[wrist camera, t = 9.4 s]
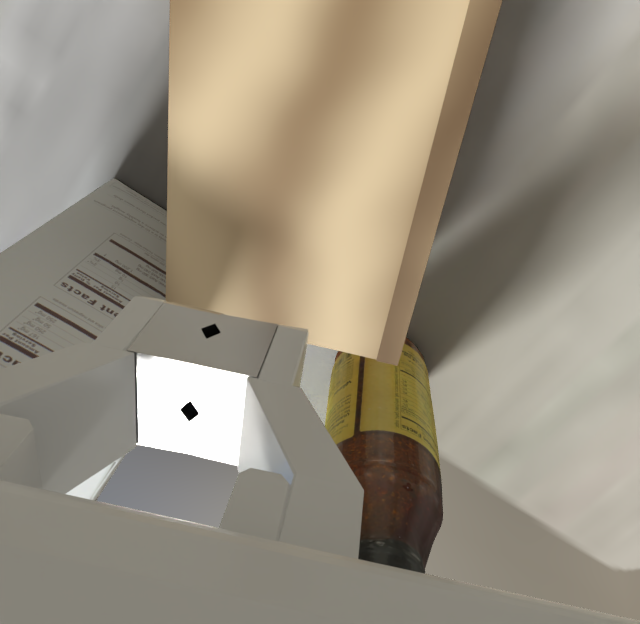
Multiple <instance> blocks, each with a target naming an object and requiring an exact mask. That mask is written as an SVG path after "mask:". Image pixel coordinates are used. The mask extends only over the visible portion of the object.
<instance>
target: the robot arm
mask: <svg viewBox="0 0 640 624" xmlns="http://www.w3.org/2000/svg"><path fill="white" fill-rule="evenodd" d="M308 335H309V332H308V329H304V328H298V327H292V326H286V325H278V324H274V323H268V322H263V321H257V320H252V319H246V318H240V317H235V316H229V315H224V314H223V313H219V312H214V311H210V310H206V309H201V308H197V307H192V306H188V305H184V304H179V303H175V302H170V301H168V302H167V301H166V300H162V299H157V298H152V297H146V296H141V295H140V296H135V297H134V298H133V299H132V300H131V301H130V302H129V303H128V304H127V305H126V306H125V307H124V308H123V310H122V311H121V312H120V313H119V314H118V315H117V316H116V317H115V318H114V320H113V321H112V322H111V323H110V324H109V325H108V326H107V327H106V328H105V329H104V331H103V332H102V333H101V334H100V335H99V336H98V337H97V338H96V339H95V340H94V342H93V343H92V344H90V343H85V342H81V343H78V344H75V345H72V346H69V347H66V348H63V349H60V350H57V351H54V352H51V353H48V354H45V355H42V356H39V357H36V358H33V359H30V360H27V361H24V362H21V363H18V364H15V365H12V366H9V367H6V368H3V369H0V624H640V621H638V620H633V619H629V618H625V617H620V616H616V615H611V614H607V613H602V612H598V611H593V610H589V609H584V608H579V607H575V606H570V605H566V604H561V603H557V602H552V601H548V600H543V599H538V598H534V597H530V596H525V595H520V594H516V593H512V592H507V591H503V590H498V589H493V588H489V587H484V586H480V585H475V584H471V583H466V582H461V581H457V580H452V579H447V578H443V577H438V576H434V575H429V574H425V573H420V572H415V571H411V570H406V569H401V568H397V567H392V566H388V565H383V564H378V563H374V562H369V561H365V560H360V559H358V555H359V544H360V532H361V520H362V509H363V497H364V489H363V488H362V486H361V485H360V483H359V481H358V480H357V478H356V476H355V475H354V473H353V472H352V470H351V468H350V467H349V465H348V463H347V462H346V460H345V458H344V457H343V455H342V454H341V452H340V450H339V449H338V447H337V445H336V444H335V442H334V441H333V439H332V437H331V436H330V434H329V432H328V431H327V429H326V428H325V426H324V424H323V423H322V421H321V419H320V418H319V416H318V414H317V413H316V411H315V410H314V408H313V406H312V405H311V403H310V401H309V400H308V398H307V397H306V395H305V393H304V392H303V390H302V388H300V382H301V377H302V371H303V365H304V360H305V354H306V348H307V342H308ZM136 444H139V445H144V446H149V447H155V448H160V449H165V450H171V451H176V452H182V453H187V454H191V455H196V456H200V457H203V458H208V459H212V460H216V461H220V462H224V463H228V464H232V465H237V466H238V471H239V475H238V478H237V481H236V483H235V486H234V489H233V491H232V494H231V496H230V499H229V502H228V505H227V508H226V510H225V513H224V515H223V518H222V521H221V523H220V526H219V528H217V527H212V526H208V525H203V524H199V523H194V522H190V521H185V520H180V519H176V518H171V517H167V516H163V515H158V514H154V513H149V512H144V511H140V510H136V509H131V508H126V507H122V506H117V505H113V504H108V503H104V502H99V501H95V500H90V499H85V498H81V497H76V496H72V495H67V494H66V493H67V492H69V491H70V490H72V489H73V488H75V487H76V486H78V485H80V484H81V483H83V482H84V481H86V480H87V479H89V478H90V477H92V476H93V475H95V474H96V473H98V472H99V471H101V470H102V469H104V468H105V467H107V466H108V465H110V464H111V463H113V462H114V461H116V460H117V459H119V458H121V457H122V456H124V455H125V454H126V453H128V452H130V451H131V450H133V449H134V448H136V446H137V445H136Z"/></svg>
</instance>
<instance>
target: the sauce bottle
mask: <svg viewBox="0 0 640 624" xmlns="http://www.w3.org/2000/svg"><path fill="white" fill-rule="evenodd" d="M325 428H326V429H327V431H328V432H329V434H330V436H331V437H332V439H333V441H334V442H335V444H336V445H337V447H338V449H339V450H340V452H341V454H342V455H343V457H344V458H345V460H346V462H347V463H348V465H349V467H350V468H351V470H352V472H353V473H354V475H355V476H356V478H357V480H358V481H359V483H360V485H361V486H362V488H363V489H364V497H363V509H362V520H361V532H360V544H359V555H358V559H360V560H365V561H369V562H374V563H378V564H383V565H388V566H392V567H397V568H401V569H406V570H411V571H415V572H420V573H425V567H426V563H427V560H428V557H429V554H430V550H431V547H432V544H433V542H434V540H435V537H436V535H437V533H438V531H439V529H440V527H441V524H442V520H443V506H442V484H441V474H440V464H439V454H438V445H437V437H436V429H435V421H434V414H433V407H432V401H431V394H430V386H429V378H428V372H427V368H426V365H425V363H424V358H423V356H422V354H421V353H420V351H419V350H418V348H417V347H416V346H415V345H414V344H413V343H412V342H411V341H410V340H409V339H408V338H405V342H404V345H403V349H402V352H401V356H400V359H399V363H398V366H396V365H391V364H387V363H383V362H379V361H376V359H371V358H367V357H363V356H359V355H354V354H350V353H346V352H342V351H338V353H337V355H336V358H335V364H334V366H333V369H332V374H331V381H330V389H329V396H328V405H327V413H326V421H325Z"/></svg>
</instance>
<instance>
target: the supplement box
mask: <svg viewBox="0 0 640 624" xmlns="http://www.w3.org/2000/svg"><path fill="white" fill-rule="evenodd" d="M166 240H167V211H166V210H164V209H163V208H161V207H159V206H158V205H156V204H155V203H153V202H151V201H150V200H148V199H147V198H145V197H143V196H142V195H140V194H139V193H137V192H135V191H134V190H132V189H131V188H129V187H127V186H126V185H124V184H123V183H121V182H120V181H118V180H116V179H111V180H110V181H108V182H107V183H105V184H104V185H102V186H101V187H99V188H98V189H96V190H95V191H93V192H92V193H90V194H89V195H87V196H86V197H84V198H83V199H81V200H80V201H78V202H77V203H75V204H74V205H72V206H71V207H69V208H68V209H66V210H65V211H63V212H62V213H60V214H59V215H57V216H56V217H54V218H53V219H51V220H50V221H48V222H47V223H45V224H44V225H42V226H41V227H39V228H38V229H36V230H35V231H33V232H32V233H30V234H29V235H27V236H26V237H24V238H23V239H21V240H20V241H18V242H17V243H15V244H13V245H12V246H10V247H9V248H7V249H6V250H4V251H3V252H1V253H0V369H3V368H6V367H9V366H12V365H15V364H18V363H21V362H24V361H27V360H30V359H33V358H36V357H39V356H42V355H45V354H48V353H51V352H54V351H57V350H60V349H63V348H66V347H69V346H72V345H75V344H78V343H81V342H85V343H90V344H92V343H93V342H94V340H95V339H96V338H97V337H98V336H99V335H100V334H101V333H102V332H103V331H104V329H105V328H106V327H107V326H108V325H109V324H110V323H111V322H112V321H113V320H114V318H115V317H116V316H117V315H118V314H119V313H120V312H121V311H122V310H123V308H124V307H125V306H126V305H127V304H128V303H129V302H130V301H131V300H132V299H133V298H134V297H135V296H140V295H141V296H146V297H152V298H157V299H162V300H166ZM125 455H126V454H125ZM125 455H124V456H125ZM124 456H122V457H121V458H119V459H117V460H116V461H114V462H113V463H111V464H110V465H108V466H107V467H105V468H104V469H102V470H101V471H99V472H98V473H96V474H95V475H93V476H92V477H90V478H89V479H87V480H86V481H84V482H83V483H81V484H80V485H78V486H76V487H75V488H73V489H72V490H70V491H69V492H67V493H66V494H67V495H72V496H76V497H81V498H85V499H90V500H95V501H96V500H97V498H98V497H99V495H100V494H101V492H102V490H103V489H104V487H105V486H106V484H107V483H108V481H109V480H110V478H111V477H112V475H113V474H114V472H115V471H116V469H117V467H118V466H119V464H120V463H121V461H122V460H123V458H124Z"/></svg>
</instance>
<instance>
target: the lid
mask: <svg viewBox="0 0 640 624" xmlns="http://www.w3.org/2000/svg"><path fill="white" fill-rule="evenodd" d="M501 4H502V0H170V32H169V102H168V171H167V240H166V301H167V302H168V301H170V302H175V303H179V304H184V305H188V306H192V307H197V308H201V309H206V310H210V311H214V312H219V313H223V314H224V315H229V316H235V317H240V318H246V319H252V320H257V321H263V322H268V323H274V324H278V325H286V326H292V327H298V328H304V329H308V332H309V335H308V342H307V343H308V344H312V345H316V346H320V347H325V348H329V349H333V350H337V351H342V352H346V353H350V354H354V355H359V356H363V357H367V358H371V359H376V361H379V362H383V363H387V364H391V365H396V366H398V363H399V359H400V356H401V352H402V349H403V345H404V342H405V338H406V335H407V331H408V328H409V324H410V321H411V317H412V314H413V310H414V307H415V304H416V300H417V297H418V293H419V290H420V286H421V283H422V279H423V276H424V272H425V269H426V265H427V262H428V258H429V255H430V251H431V248H432V244H433V241H434V237H435V234H436V230H437V227H438V223H439V220H440V216H441V213H442V209H443V206H444V202H445V199H446V195H447V192H448V188H449V185H450V181H451V178H452V174H453V171H454V168H455V164H456V161H457V157H458V154H459V150H460V147H461V143H462V140H463V136H464V133H465V129H466V126H467V122H468V119H469V115H470V112H471V108H472V105H473V101H474V98H475V94H476V91H477V87H478V84H479V80H480V77H481V73H482V70H483V66H484V63H485V59H486V56H487V52H488V49H489V45H490V42H491V38H492V35H493V32H494V28H495V25H496V21H497V18H498V14H499V11H500V7H501Z"/></svg>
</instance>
